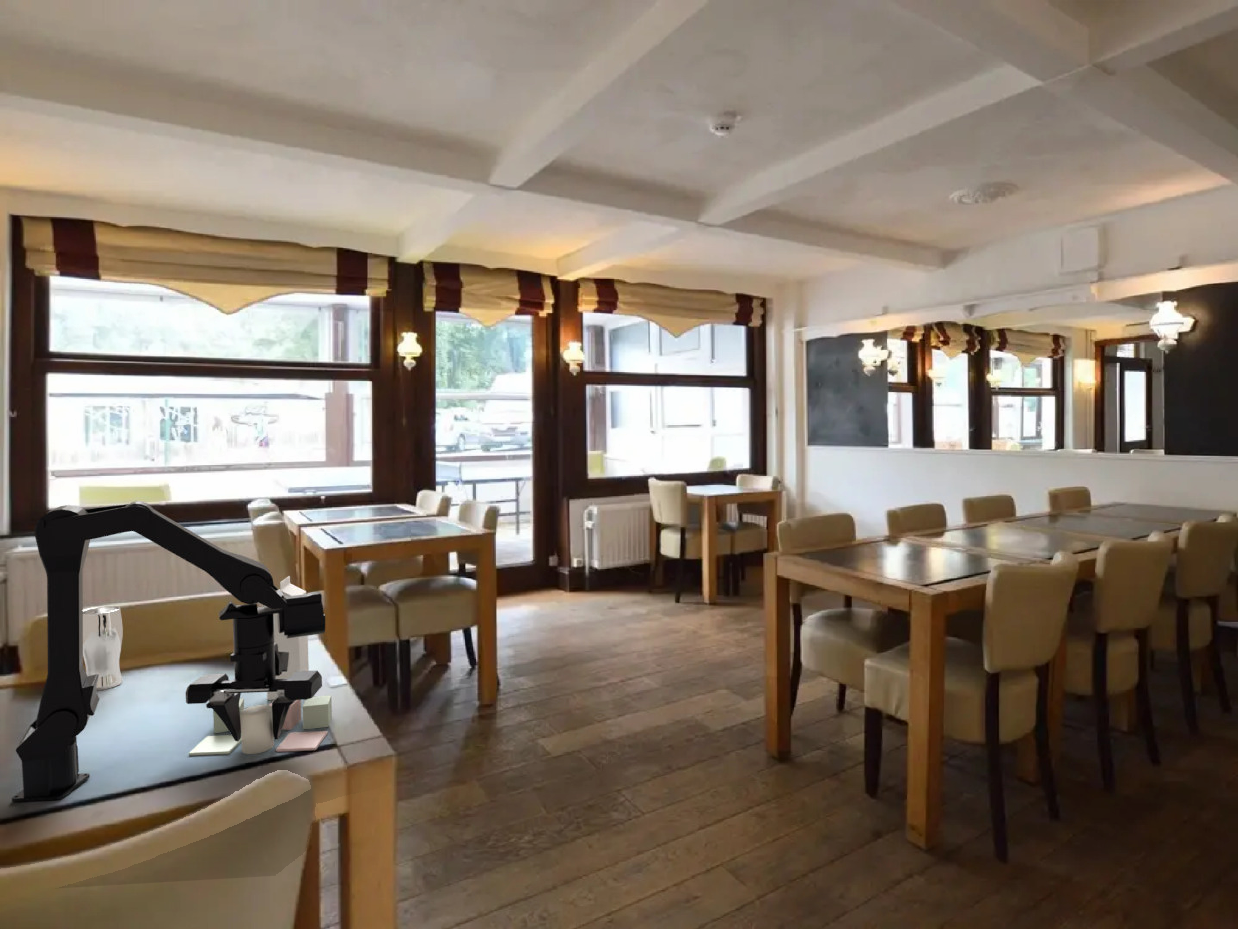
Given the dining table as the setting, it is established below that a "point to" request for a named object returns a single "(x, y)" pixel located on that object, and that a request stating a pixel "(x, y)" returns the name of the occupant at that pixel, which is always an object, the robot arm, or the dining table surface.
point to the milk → (290, 641)
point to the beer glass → (103, 644)
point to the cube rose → (292, 715)
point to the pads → (290, 743)
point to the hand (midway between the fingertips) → (257, 739)
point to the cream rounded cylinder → (256, 729)
